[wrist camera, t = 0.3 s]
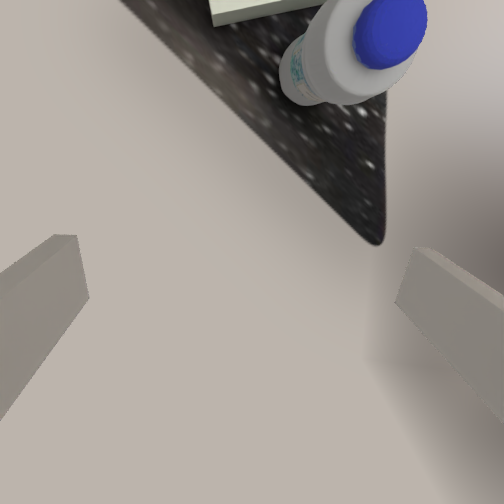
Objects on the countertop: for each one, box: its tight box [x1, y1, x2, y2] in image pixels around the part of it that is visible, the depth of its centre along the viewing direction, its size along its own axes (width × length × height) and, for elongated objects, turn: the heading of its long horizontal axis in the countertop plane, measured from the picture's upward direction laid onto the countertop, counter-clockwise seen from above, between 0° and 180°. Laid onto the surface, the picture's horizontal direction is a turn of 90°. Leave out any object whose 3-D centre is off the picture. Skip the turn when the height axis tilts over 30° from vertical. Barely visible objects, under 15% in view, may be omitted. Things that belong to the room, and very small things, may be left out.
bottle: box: [279, 0, 427, 106], centre depth 23 cm, size 7×7×20 cm
